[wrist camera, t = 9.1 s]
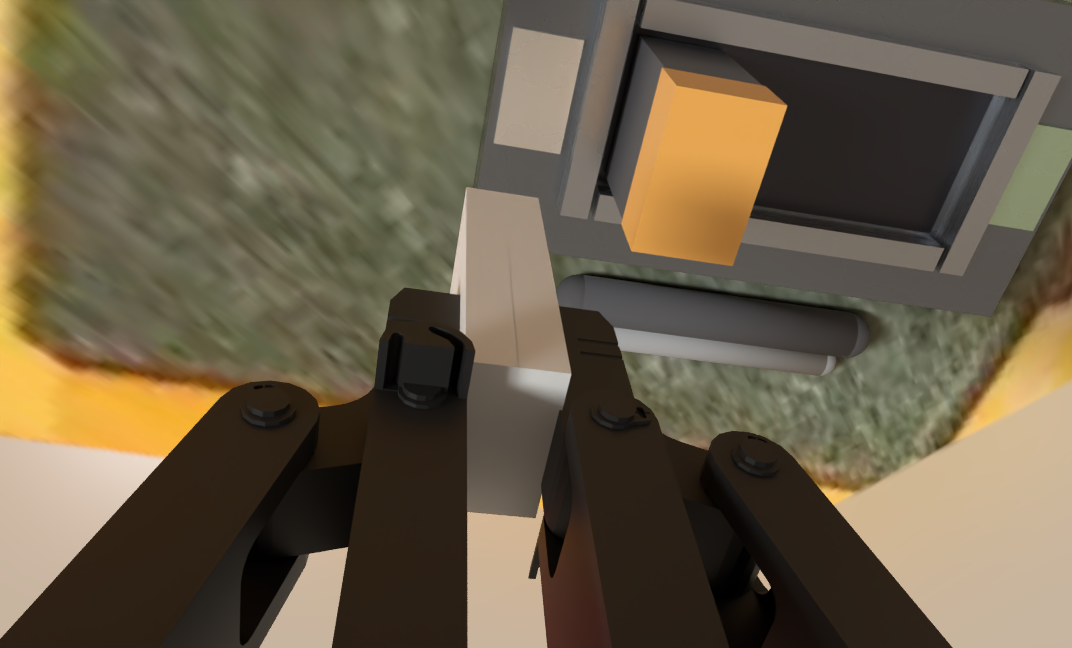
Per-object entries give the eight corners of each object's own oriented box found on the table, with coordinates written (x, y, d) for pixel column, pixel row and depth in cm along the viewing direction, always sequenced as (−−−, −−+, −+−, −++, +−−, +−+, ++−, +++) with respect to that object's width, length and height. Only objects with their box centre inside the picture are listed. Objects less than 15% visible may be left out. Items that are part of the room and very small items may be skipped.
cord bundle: (542, 329, 37) (546, 354, 35) (558, 262, 35) (562, 285, 34) (839, 368, 39) (856, 393, 37) (866, 306, 38) (885, 330, 36)
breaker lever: (602, 174, 31) (631, 251, 25) (636, 34, 28) (676, 85, 23) (686, 188, 31) (732, 266, 26) (726, 51, 29) (787, 105, 23)
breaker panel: (468, 216, 34) (468, 255, 31) (522, -114, 28) (528, -106, 25) (962, 289, 37) (1006, 331, 34) (1102, 9, 32) (1171, 29, 28)
